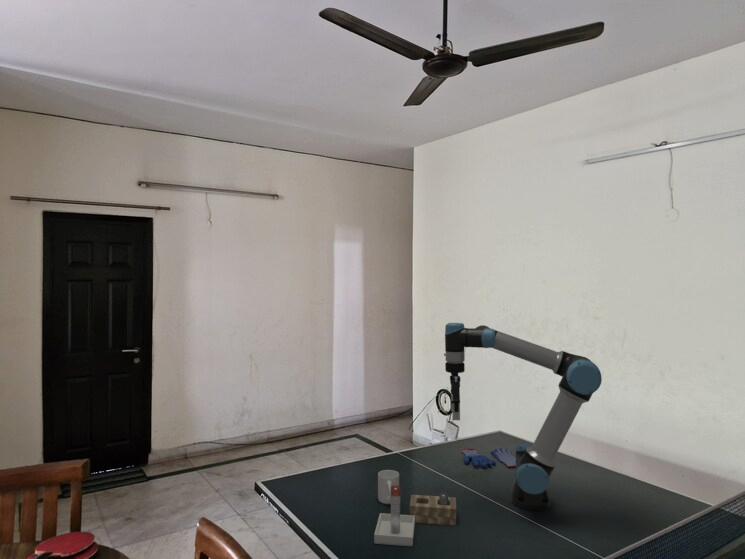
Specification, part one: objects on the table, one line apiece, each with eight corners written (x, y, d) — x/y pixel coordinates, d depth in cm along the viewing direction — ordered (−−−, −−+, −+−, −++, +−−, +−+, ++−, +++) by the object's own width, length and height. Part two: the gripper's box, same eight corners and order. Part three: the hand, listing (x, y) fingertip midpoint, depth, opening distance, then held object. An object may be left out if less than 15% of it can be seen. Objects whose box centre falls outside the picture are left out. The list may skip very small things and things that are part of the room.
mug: (378, 508, 194) (378, 481, 194) (377, 495, 206) (377, 469, 206) (400, 508, 194) (400, 481, 194) (397, 495, 206) (398, 469, 206)
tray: (414, 523, 181) (415, 515, 182) (412, 546, 166) (412, 537, 166) (379, 521, 183) (379, 513, 183) (374, 543, 167) (374, 534, 167)
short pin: (448, 516, 187) (448, 492, 188) (448, 520, 184) (448, 496, 184) (439, 515, 188) (439, 492, 188) (439, 520, 185) (439, 495, 185)
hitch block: (455, 513, 190) (455, 497, 190) (456, 525, 180) (456, 508, 180) (411, 510, 193) (411, 494, 193) (409, 522, 183) (409, 505, 183)
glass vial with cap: (400, 529, 176) (400, 485, 176) (399, 534, 173) (400, 489, 173) (391, 528, 176) (391, 485, 177) (390, 533, 173) (390, 489, 173)
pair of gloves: (514, 451, 263) (514, 445, 263) (533, 469, 237) (533, 462, 237) (455, 453, 260) (455, 446, 261) (468, 471, 235) (468, 463, 235)
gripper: (444, 357, 209) (444, 407, 209) (446, 366, 184) (447, 423, 184) (462, 357, 208) (462, 408, 208) (466, 367, 183) (467, 424, 183)
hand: (455, 415), depth 196 cm, fingers open, 13 cm apart
